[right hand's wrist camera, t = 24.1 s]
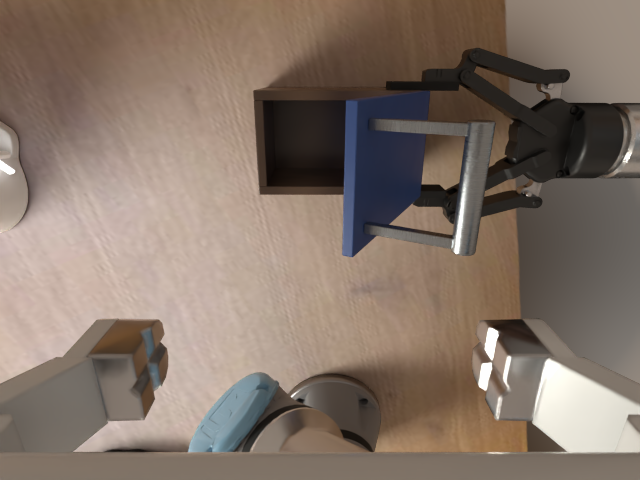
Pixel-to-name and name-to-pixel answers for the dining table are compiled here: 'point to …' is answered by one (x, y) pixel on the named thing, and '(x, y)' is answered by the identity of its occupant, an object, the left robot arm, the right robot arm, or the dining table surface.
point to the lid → (406, 171)
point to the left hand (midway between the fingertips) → (384, 140)
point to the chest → (304, 137)
